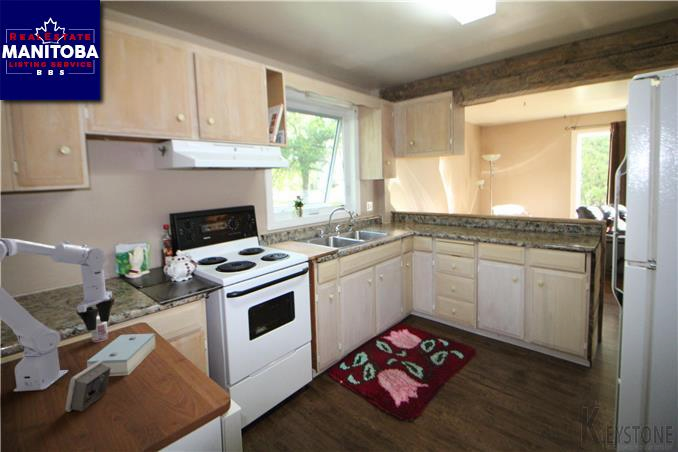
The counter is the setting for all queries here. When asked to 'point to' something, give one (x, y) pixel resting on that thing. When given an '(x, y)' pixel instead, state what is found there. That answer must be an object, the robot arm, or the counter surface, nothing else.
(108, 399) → the counter surface
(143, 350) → the base
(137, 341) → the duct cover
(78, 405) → the electrical switch
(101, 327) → the pill bottle
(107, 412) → the counter surface
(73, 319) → the counter surface
